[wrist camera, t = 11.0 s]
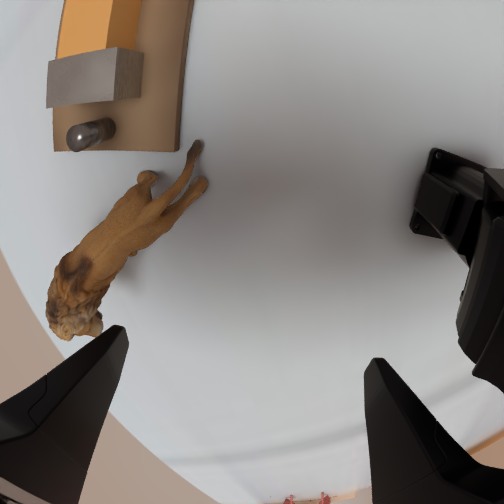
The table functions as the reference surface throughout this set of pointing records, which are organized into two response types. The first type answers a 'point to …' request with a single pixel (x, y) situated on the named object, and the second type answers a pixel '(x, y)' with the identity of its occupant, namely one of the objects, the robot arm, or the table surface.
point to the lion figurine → (114, 250)
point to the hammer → (96, 54)
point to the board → (152, 91)
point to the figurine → (326, 500)
